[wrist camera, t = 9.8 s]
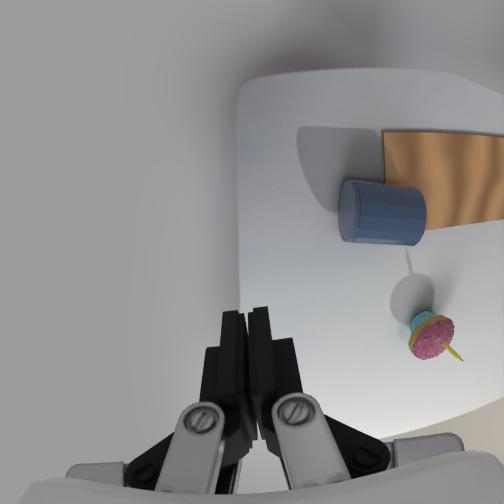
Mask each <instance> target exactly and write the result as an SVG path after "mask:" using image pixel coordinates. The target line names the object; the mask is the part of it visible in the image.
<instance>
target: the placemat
mask: <svg viewBox="0 0 504 504" xmlns="http://www.w3.org/2000/svg"><path fill="white" fill-rule="evenodd" d="M383 148H384V173H385V183H386V184H394V185H402V186H409V187H415V188H417V189H419V190H420V191H421V193H422V195H423V196H424V199H425V203H426V208H427V221H426V226H425V230H430V229H437V228H444V227H451V226H458V225H465V224H473V223H480V222H487V221H494V220H501V219H504V137H496V136H485V135H473V134H459V133H437V132H383Z"/></svg>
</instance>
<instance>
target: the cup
mask: <svg viewBox="0 0 504 504" xmlns="http://www.w3.org/2000/svg"><path fill="white" fill-rule="evenodd" d="M426 221H427V208H426V203H425V199H424V196H423V195H422V193H421V191H420V190H419V189H417V188H415V187H409V186H402V185H394V184H386V183H377V182H368V181H359V180H347V181H345V183H344V185H343V187H342V190H341V194H340V199H339V209H338V223H339V231H340V235H341V238H342V240H343V241H344V242H352V243H371V244H389V245H407V246H415V245H416V244H417V243H418V242H419V241H420V240H421V238H422V236H423V234H424V231H425V226H426Z"/></svg>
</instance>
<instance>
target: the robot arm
mask: <svg viewBox="0 0 504 504" xmlns="http://www.w3.org/2000/svg"><path fill="white" fill-rule="evenodd" d="M257 422H258V426H259V430H260V434H261V438H262V440H264V439H265V440H266V444H267V448H268V451H270V452H271V453H273V454H274V455H276V456H278V457H279V458H280V462H281V466H282V469H283V472H284V476H285V479H286V483H287V486H288V489H289V490H287V491H278V492H267V493H253V494H237V489H238V483H239V478H240V472H241V467H242V458H243V457H244V456H245V455H246V454H247V453H248V452H249V449H250V448H252V441H253V440H257V439H258V438H257V437H258V435H257ZM19 504H504V466H503V464H502V463H501V462H500V461H499V460H498V459H497V458H496V457H495V456H493V455H492V454H490V453H487V452H483V451H465V450H464V445H463V443H462V440H461V438H459V437H458V436H457V435H456V434H452V433H440V434H434V435H427V436H421V437H413V438H404V439H394V440H393V442H386V443H383V442H382V441H380V440H378V439H376V438H373V437H371V436H369V435H367V434H365V433H362V432H360V431H358V430H356V429H354V428H351V427H349V426H347V425H345V424H343V423H341V422H339V421H337V420H335V419H333V418H331V417H329V416H327V415H325V414H323V412H322V410H321V407H320V405H319V403H318V402H317V400H316V399H315V398H313V397H312V396H310V395H307V394H305V393H303V390H302V384H301V379H300V374H299V369H298V364H297V359H296V353H295V348H294V343H293V339H292V338H285V339H278V340H272V335H271V328H270V321H269V313H268V306H266V307H258V308H253V312H249V313H248V332H247V327H246V321H245V316H244V313H241V314H239V313H238V310H234V311H225V312H223V316H222V328H221V339H220V346H217V347H207V349H206V352H205V360H204V367H203V375H202V383H201V391H200V399H199V402H197V403H194V404H192V405H190V406H188V407H187V408H186V409H185V410H184V411H183V412H182V414H181V415H180V417H179V420H178V424H177V426H176V429H175V432H173V433H172V434H170V435H169V436H168V437H166V438H165V439H163V440H162V441H160V442H159V443H158V444H156V445H155V446H153V447H152V448H150V449H149V450H147V451H146V452H145V453H143V454H142V455H140V456H138V457H137V458H135V459H134V460H133V461H132V462H130V463H128V464H125V463H124V462H112V463H92V464H77V465H74V466H72V467H70V469H69V470H68V471H67V474H66V477H65V478H49V479H44V480H40V481H37V482H34V483H32V484H31V485H30V486H29V487H28V488H27V489H26V490H25V492H24V493H23V495H22V497H21V499H20V501H19Z"/></svg>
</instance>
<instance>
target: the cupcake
mask: <svg viewBox="0 0 504 504" xmlns="http://www.w3.org/2000/svg"><path fill="white" fill-rule="evenodd" d="M410 329H411V337H410V341H409V349H410V351H411V352H412V354H414V355H415V356H416V357H417V358H419V359H423V360H424V359H425V360H426V359H430V358H433V357H435V356H437V355H439V354H440V353H442V352H443V351H444V350H445V349H447V350H448V351H449V352H450V353H451V354H452V355H453V356H454V357H455V358H456V359H457V360H461V361H464V360H462V359H461V357H460V356H459V355H458V354H457V353H456V352H455V351H454V350H453V349H452V348H451V347H450V346H449V344H450V343H451V339H452V337H453V334H454V325H453V322H452V320H451V319H449V318H447V317H445V316H442V315H435V314H433V313H431V312H430V311H423V312H421V313H419V314H418V315H416V316H415V317H414V319H413V320H412V322H411V325H410Z"/></svg>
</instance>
